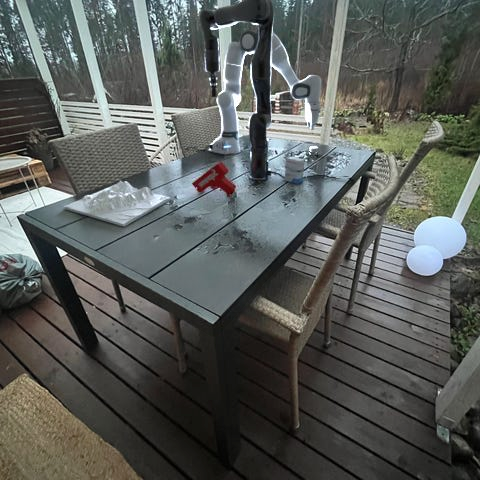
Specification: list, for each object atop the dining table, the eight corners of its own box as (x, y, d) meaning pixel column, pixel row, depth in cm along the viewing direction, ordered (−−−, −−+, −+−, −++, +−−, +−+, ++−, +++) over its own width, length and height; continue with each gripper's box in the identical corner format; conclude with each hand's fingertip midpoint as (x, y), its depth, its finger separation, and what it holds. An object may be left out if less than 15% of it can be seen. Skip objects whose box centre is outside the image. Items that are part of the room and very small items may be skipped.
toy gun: (240, 187, 127) (221, 160, 123) (237, 190, 124) (218, 163, 120) (214, 205, 137) (195, 180, 133) (210, 208, 134) (191, 183, 130)
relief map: (124, 226, 104) (120, 214, 101) (64, 208, 117) (60, 197, 114) (169, 200, 124) (168, 189, 121) (115, 187, 137) (112, 177, 135)
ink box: (302, 181, 142) (305, 159, 136) (297, 184, 139) (300, 161, 133) (289, 177, 147) (291, 156, 141) (284, 180, 144) (285, 158, 138)
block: (308, 153, 189) (309, 146, 187) (315, 153, 189) (316, 146, 187) (310, 155, 185) (311, 148, 183) (317, 154, 186) (318, 148, 183)
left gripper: (304, 103, 179) (302, 126, 186) (310, 107, 162) (308, 131, 169) (313, 103, 179) (311, 125, 186) (321, 106, 161) (318, 131, 169)
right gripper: (219, 60, 133) (221, 97, 142) (219, 60, 145) (220, 95, 154) (204, 60, 133) (207, 97, 141) (205, 60, 145) (207, 95, 153)
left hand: (310, 128), depth 177 cm, fingers open, 8 cm apart
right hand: (214, 96), depth 148 cm, fingers open, 8 cm apart
